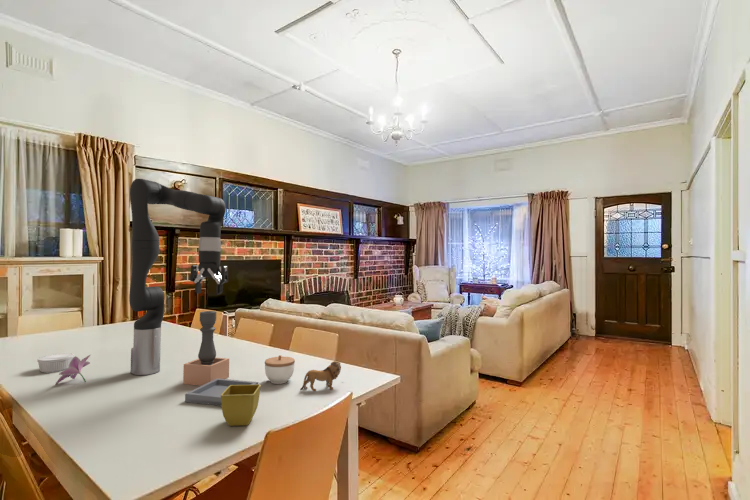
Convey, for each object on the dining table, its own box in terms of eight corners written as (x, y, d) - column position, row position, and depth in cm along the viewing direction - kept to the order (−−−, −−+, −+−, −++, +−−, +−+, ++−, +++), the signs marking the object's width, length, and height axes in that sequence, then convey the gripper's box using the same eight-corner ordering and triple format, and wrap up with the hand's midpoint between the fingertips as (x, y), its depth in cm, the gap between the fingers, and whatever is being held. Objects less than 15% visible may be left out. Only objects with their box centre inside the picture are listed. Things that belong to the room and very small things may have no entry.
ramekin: (41, 375, 144) (41, 361, 145) (33, 370, 151) (33, 356, 151) (77, 369, 153) (77, 355, 153) (68, 364, 160) (69, 351, 160)
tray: (184, 401, 120) (185, 393, 120) (216, 385, 135) (216, 378, 135) (230, 406, 116) (230, 398, 116) (258, 389, 132) (258, 382, 132)
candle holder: (208, 383, 137) (210, 313, 138) (193, 382, 138) (195, 312, 139) (219, 378, 143) (220, 311, 144) (204, 377, 144) (206, 310, 145)
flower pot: (229, 416, 109) (229, 384, 110) (260, 415, 110) (261, 383, 110) (219, 429, 101) (220, 395, 101) (253, 429, 101) (254, 394, 102)
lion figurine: (337, 383, 139) (338, 358, 139) (343, 388, 134) (343, 362, 135) (297, 389, 133) (298, 363, 133) (302, 394, 128) (302, 367, 128)
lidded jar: (300, 379, 143) (300, 354, 144) (281, 387, 134) (282, 360, 134) (277, 375, 148) (277, 350, 148) (257, 383, 138) (258, 357, 138)
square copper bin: (183, 383, 137) (183, 364, 137) (203, 374, 147) (203, 356, 147) (210, 386, 134) (210, 366, 134) (228, 377, 145) (229, 358, 145)
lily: (96, 377, 146) (83, 355, 146) (106, 370, 139) (93, 347, 139) (59, 396, 136) (45, 373, 136) (69, 390, 129) (54, 365, 129)
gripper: (186, 249, 140) (184, 294, 139) (220, 249, 137) (219, 295, 136) (199, 250, 147) (198, 292, 147) (233, 250, 144) (231, 293, 144)
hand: (208, 293), depth 142 cm, fingers open, 8 cm apart
